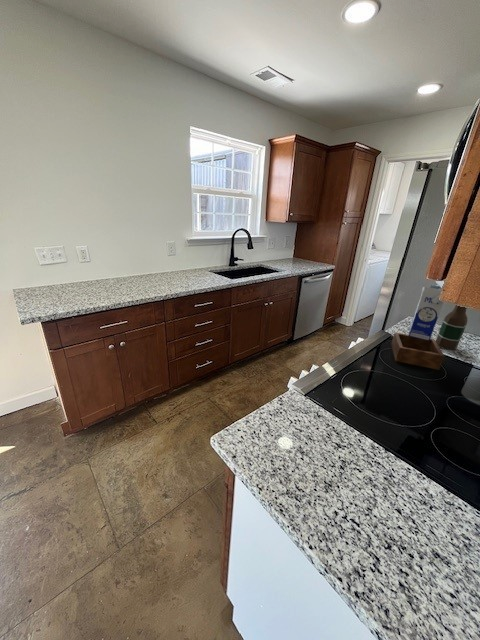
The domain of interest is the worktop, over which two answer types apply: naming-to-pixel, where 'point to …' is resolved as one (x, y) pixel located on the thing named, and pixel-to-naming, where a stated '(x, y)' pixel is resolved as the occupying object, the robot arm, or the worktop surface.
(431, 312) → the milk carton
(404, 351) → the oak frame
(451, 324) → the beer bottle
